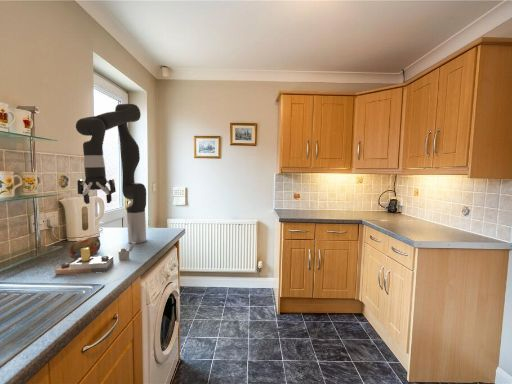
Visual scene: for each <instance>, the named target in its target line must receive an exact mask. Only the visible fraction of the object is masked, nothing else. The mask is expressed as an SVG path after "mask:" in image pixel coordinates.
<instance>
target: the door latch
mask: <svg viewBox="0 0 512 384" xmlns="http://www.w3.org/2000/svg"><path fill="white" fill-rule="evenodd" d="M114 265H115V263H114V256H113V255H103V256H90V262H86V263H82V259H81V258H79V259H75V261H73V262H63V263H61V266H60V267H58V268H57V269H55V270H54V271H55V275H56V274H66V275H81V273H84V274H97V273H96V272H102V273H107V272H108V271H109V270H110V269H111V268H112V267H113V266H114Z"/></svg>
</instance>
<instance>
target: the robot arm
mask: <svg viewBox="0 0 512 384" xmlns="http://www.w3.org/2000/svg"><path fill="white" fill-rule="evenodd" d="M114 110H115V111H107V112H104V113H100V114H98V115H95V116H94V115H93V116H88V117H82V118H80V119H78V120H77V121H76V123H75V128H76V131H77V133H79V134H81V135H82V136H87V137H88V136H91V139H90V140H88V141H87V140H86V141H84V142H83V143H82V149H83V150H82V151H83V167H84V176H85V180H83V179H78V180H77V194H79V195H82V196H83V202H84V203H85V205H88V204H90V202H91V201H90V192H91V191H93V190H94V191H95V190H101V191H102V192H104V193H105V195H106V196H105V197H106V204H111V202H112V201H113V200H112V199H113V197H112V194H113V193H116V192H117V189H116V185H115V184H116V183H115V179H113V178H111V179H107V175H106V164H105V158H104V149H103V148H104V147H103V146H104V141H105V135H106V131H109V130H110V129H113V128H115V127H117V131H118V138H119V148H120V151H119V152H120V159H121V160H120V161H121V173H122V175H121V177H122V179H121V181H122V183H121V186H122V187H121V191H122V194H123V197H124V198H125V199H127V200H132V204H131V205H128V206H127V207H126V217H127V218H126V219H127V220H126V221H127V237H128V238H127V241H128V243H129V244H132V242H136V243H135V244H141V243H145V242H146V241H147V225H146V224H147V223H146V207H147V189H146V186H145V184H143V183H140V182H135V172H136V170H137V167H138V166H139V162H140V160H141V159H140V157H141V156H140V148H139V145H138V143H137V142H136V140H135V139H134V137H133V135H131V133H130V130H129V126H128V123H135V122H138V121H139V120H140V119H141V115H142V114H141V110H140V107H139V106H138V105H137V104H135V103H117V105H116V106H115V109H114ZM107 184H108V185H109V186H107ZM84 185H86V187H85V188H84Z"/></svg>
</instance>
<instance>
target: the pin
mask: <svg viewBox="0 0 512 384" xmlns="http://www.w3.org/2000/svg"><path fill="white" fill-rule="evenodd" d="M90 257H91V256H90V248H82V249H81V259H82V263H86V262H90Z"/></svg>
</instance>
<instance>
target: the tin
mask: <svg viewBox="0 0 512 384" xmlns="http://www.w3.org/2000/svg"><path fill="white" fill-rule="evenodd" d="M82 248H90V257H92V256H93V255H95V254H97V253H98V252H99V251H100V248H101V240H100V239H99V238H98V237H96V236H89V237H86V238H84V239H80V240H77V241H74V242H73V243H72V244H71V245H70V247H69V256H70V258H71V259H72V260H77V259H79V258H81V249H82Z"/></svg>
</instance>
